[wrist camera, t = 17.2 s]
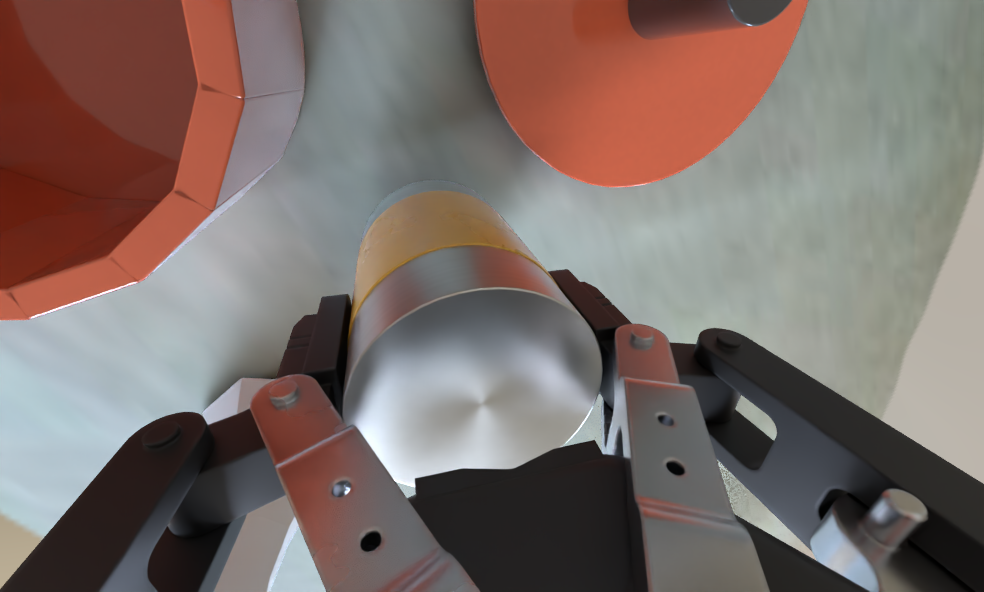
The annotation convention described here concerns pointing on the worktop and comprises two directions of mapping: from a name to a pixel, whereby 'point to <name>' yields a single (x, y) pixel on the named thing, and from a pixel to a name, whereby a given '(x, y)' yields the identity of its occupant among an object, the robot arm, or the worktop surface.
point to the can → (460, 340)
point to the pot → (132, 133)
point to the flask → (253, 514)
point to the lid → (630, 78)
